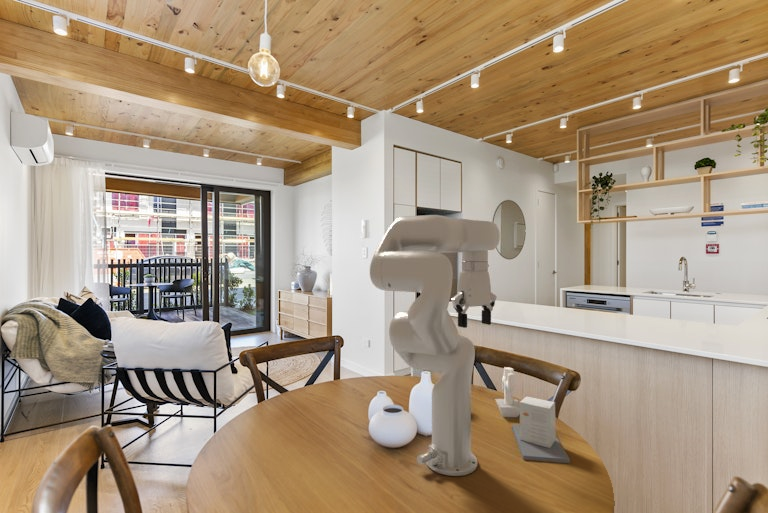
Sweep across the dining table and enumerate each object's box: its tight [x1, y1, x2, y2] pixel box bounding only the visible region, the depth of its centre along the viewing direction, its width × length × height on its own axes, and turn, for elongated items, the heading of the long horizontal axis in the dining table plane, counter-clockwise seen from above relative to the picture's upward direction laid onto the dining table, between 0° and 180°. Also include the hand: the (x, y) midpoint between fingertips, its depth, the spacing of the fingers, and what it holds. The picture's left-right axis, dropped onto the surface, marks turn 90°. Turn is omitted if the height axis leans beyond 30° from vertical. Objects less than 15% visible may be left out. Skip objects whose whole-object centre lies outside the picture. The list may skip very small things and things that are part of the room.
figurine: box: [494, 366, 520, 418], centre depth 126 cm, size 7×9×15 cm
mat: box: [511, 424, 571, 464], centre depth 106 cm, size 18×11×1 cm, turn 171°
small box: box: [519, 395, 557, 448], centre depth 106 cm, size 8×6×10 cm
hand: (474, 325), depth 116 cm, fingers open, 9 cm apart
